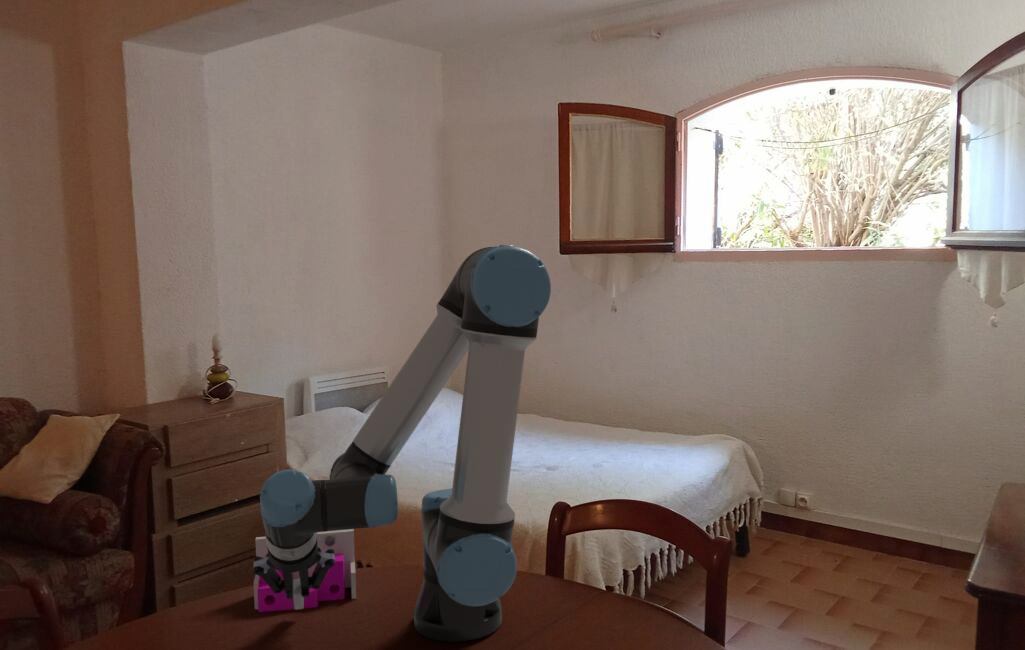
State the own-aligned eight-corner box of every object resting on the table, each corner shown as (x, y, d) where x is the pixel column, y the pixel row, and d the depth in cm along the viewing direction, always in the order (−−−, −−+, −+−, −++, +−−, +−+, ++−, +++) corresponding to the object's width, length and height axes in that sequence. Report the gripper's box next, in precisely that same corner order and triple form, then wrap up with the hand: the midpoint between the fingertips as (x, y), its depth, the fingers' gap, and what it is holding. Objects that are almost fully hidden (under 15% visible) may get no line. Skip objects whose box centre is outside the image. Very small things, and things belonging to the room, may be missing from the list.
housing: (356, 598, 145) (354, 541, 144) (254, 609, 141) (252, 550, 141) (355, 584, 152) (353, 528, 151) (258, 594, 148) (256, 537, 147)
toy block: (258, 613, 140) (256, 572, 140) (263, 598, 147) (261, 559, 146) (343, 605, 143) (342, 565, 142) (345, 591, 149) (343, 553, 149)
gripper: (246, 567, 117) (259, 627, 134) (336, 558, 120) (337, 618, 137) (248, 521, 122) (261, 585, 139) (334, 514, 125) (336, 577, 142)
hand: (299, 601), depth 138 cm, fingers closed
